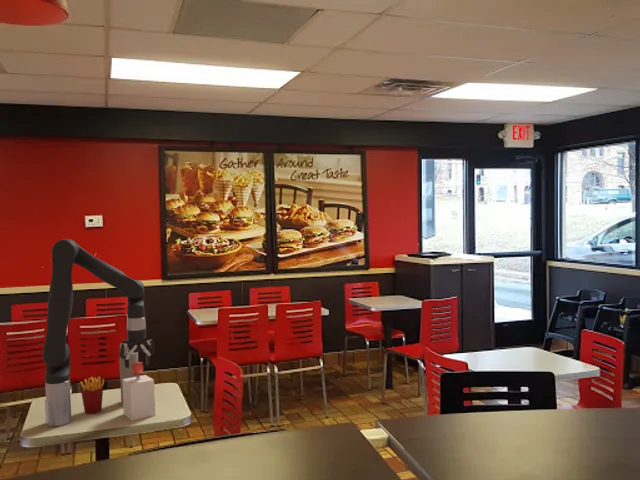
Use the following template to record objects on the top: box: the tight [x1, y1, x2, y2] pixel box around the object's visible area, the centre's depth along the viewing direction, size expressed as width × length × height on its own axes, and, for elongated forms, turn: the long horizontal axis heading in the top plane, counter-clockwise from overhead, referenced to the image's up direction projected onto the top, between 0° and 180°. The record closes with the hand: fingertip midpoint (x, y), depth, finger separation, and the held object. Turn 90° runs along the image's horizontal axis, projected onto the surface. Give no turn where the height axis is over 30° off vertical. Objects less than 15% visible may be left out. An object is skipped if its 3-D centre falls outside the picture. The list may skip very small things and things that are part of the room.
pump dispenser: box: [122, 374, 156, 421], centre depth 253 cm, size 10×10×15 cm
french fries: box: [79, 376, 106, 415], centre depth 259 cm, size 9×8×15 cm
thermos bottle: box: [119, 339, 139, 405], centre depth 270 cm, size 8×8×28 cm
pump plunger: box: [132, 361, 144, 381], centre depth 253 cm, size 4×4×20 cm
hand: (137, 366), depth 252 cm, fingers open, 8 cm apart
